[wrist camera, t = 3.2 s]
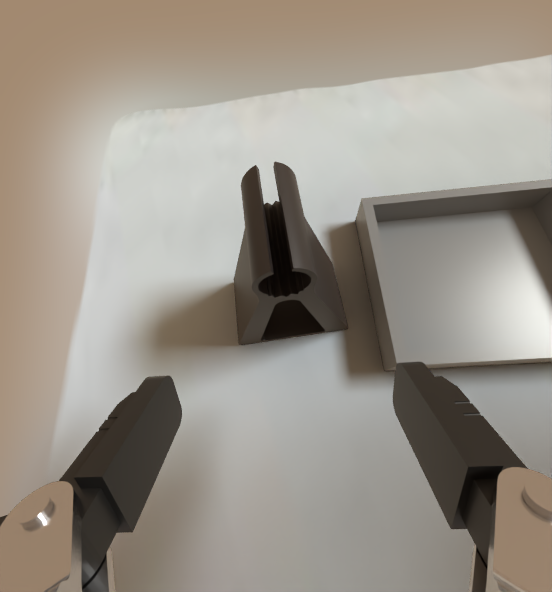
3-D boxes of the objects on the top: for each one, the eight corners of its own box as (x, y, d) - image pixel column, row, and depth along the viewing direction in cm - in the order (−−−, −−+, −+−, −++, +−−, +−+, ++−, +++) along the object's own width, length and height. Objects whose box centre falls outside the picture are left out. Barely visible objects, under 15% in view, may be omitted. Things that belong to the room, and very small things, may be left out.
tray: (532, 203, 24) (562, 178, 21) (613, 358, 19) (667, 351, 16) (355, 220, 25) (361, 198, 22) (384, 371, 20) (397, 366, 17)
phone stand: (239, 345, 22) (173, 287, 11) (234, 281, 24) (176, 178, 13) (347, 329, 21) (394, 252, 10) (332, 266, 24) (357, 146, 13)
